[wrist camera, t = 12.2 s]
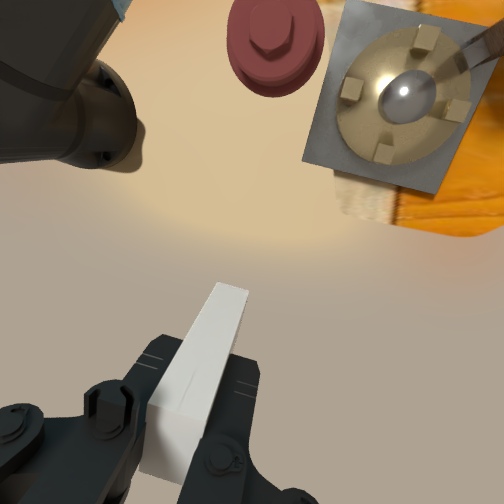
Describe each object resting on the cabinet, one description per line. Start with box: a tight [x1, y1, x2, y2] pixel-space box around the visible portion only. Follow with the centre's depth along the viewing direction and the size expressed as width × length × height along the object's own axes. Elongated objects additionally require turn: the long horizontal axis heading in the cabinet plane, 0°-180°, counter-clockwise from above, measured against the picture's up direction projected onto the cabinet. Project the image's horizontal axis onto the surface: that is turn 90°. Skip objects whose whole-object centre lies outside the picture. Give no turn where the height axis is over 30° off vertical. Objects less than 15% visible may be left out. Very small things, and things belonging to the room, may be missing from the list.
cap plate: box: [302, 0, 500, 195], centre depth 36 cm, size 18×18×2 cm
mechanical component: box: [227, 0, 325, 97], centre depth 32 cm, size 12×10×10 cm
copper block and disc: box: [335, 18, 504, 165], centre depth 29 cm, size 22×14×10 cm, turn 123°
